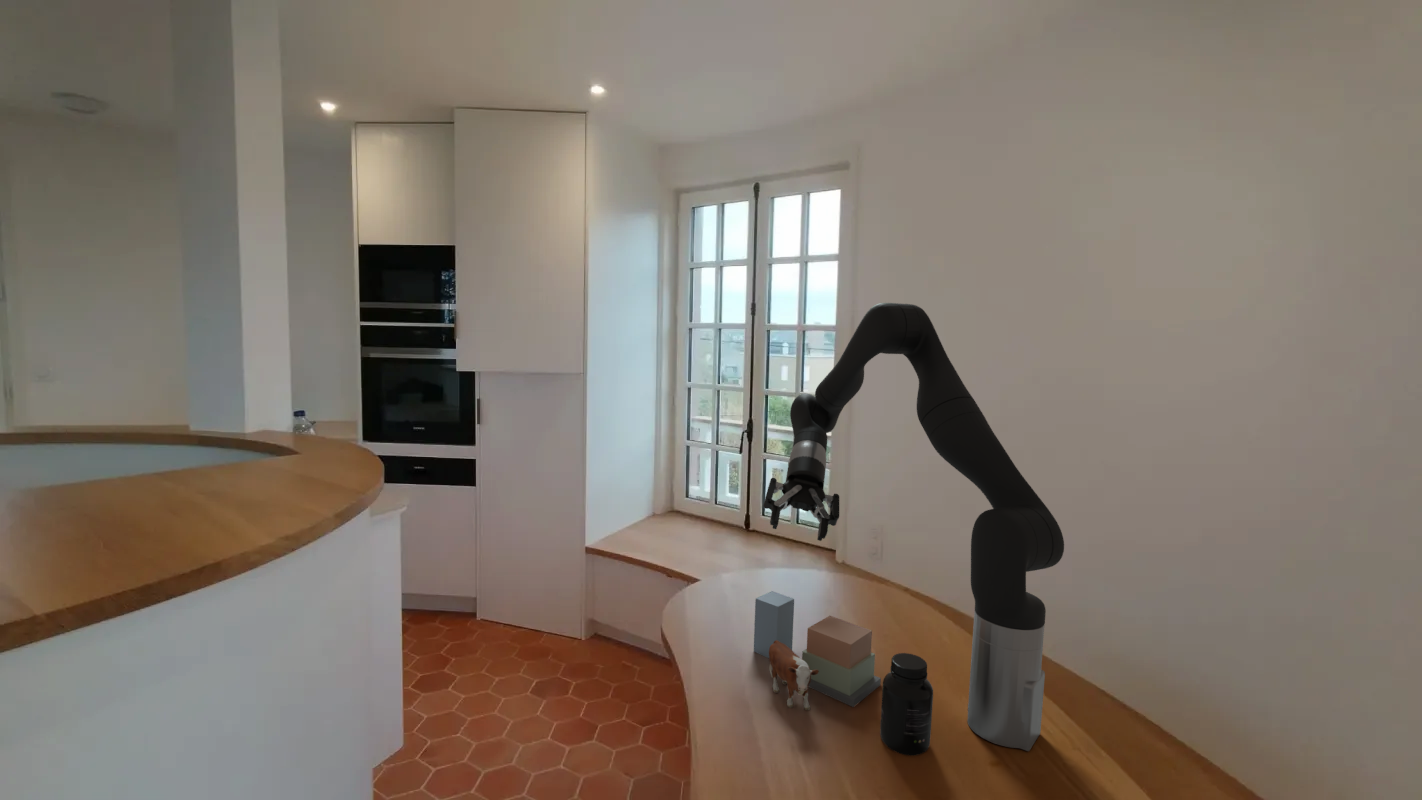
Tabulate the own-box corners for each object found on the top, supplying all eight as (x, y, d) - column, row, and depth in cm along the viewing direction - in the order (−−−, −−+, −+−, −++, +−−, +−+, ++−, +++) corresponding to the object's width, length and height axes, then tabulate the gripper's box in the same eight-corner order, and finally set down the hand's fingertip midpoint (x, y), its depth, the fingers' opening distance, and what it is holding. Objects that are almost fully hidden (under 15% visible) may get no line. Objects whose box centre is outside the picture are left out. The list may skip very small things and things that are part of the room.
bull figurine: (795, 727, 90) (797, 673, 90) (763, 679, 103) (765, 632, 103) (822, 723, 91) (825, 670, 91) (787, 676, 104) (789, 629, 104)
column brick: (791, 651, 113) (794, 598, 112) (775, 661, 109) (778, 606, 109) (769, 642, 116) (772, 590, 116) (753, 651, 113) (755, 598, 112)
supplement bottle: (870, 731, 90) (874, 651, 89) (910, 724, 92) (915, 646, 91) (897, 761, 83) (902, 676, 82) (940, 753, 85) (945, 669, 84)
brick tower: (880, 685, 102) (883, 631, 102) (853, 707, 96) (856, 650, 95) (823, 661, 110) (825, 611, 109) (794, 680, 103) (796, 627, 102)
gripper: (776, 447, 124) (764, 510, 112) (846, 464, 123) (841, 530, 111) (769, 471, 129) (756, 534, 117) (836, 487, 128) (830, 553, 116)
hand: (797, 532), depth 114 cm, fingers open, 8 cm apart
